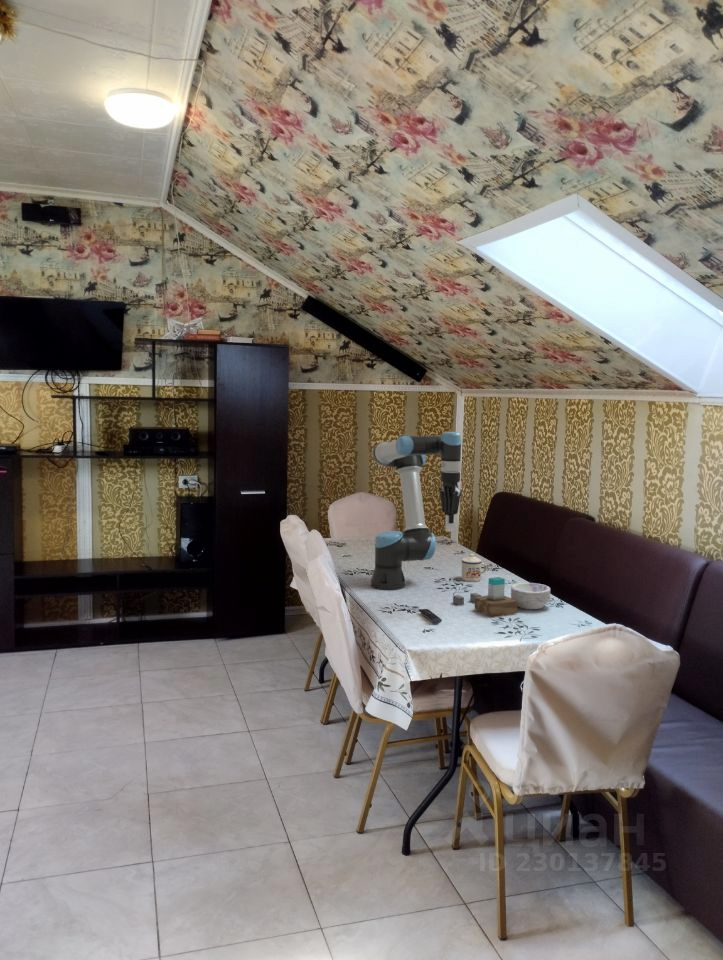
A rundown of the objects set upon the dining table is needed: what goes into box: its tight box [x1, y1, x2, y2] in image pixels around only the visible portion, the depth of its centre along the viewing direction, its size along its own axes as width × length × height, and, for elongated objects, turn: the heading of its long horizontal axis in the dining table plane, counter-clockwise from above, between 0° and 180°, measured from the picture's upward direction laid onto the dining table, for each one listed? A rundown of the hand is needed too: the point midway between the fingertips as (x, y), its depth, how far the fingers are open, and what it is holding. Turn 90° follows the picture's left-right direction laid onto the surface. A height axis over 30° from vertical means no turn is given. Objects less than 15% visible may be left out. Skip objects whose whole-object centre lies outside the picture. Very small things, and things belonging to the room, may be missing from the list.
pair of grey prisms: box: [452, 592, 482, 606], centre depth 303 cm, size 4×11×3 cm, turn 116°
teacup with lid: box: [461, 553, 488, 582], centre depth 341 cm, size 12×9×12 cm
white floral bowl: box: [510, 582, 551, 610], centre depth 298 cm, size 15×15×8 cm
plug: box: [487, 576, 506, 601], centre depth 290 cm, size 4×5×12 cm
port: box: [474, 595, 518, 618], centre depth 291 cm, size 11×12×5 cm
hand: (449, 531), depth 298 cm, fingers closed
